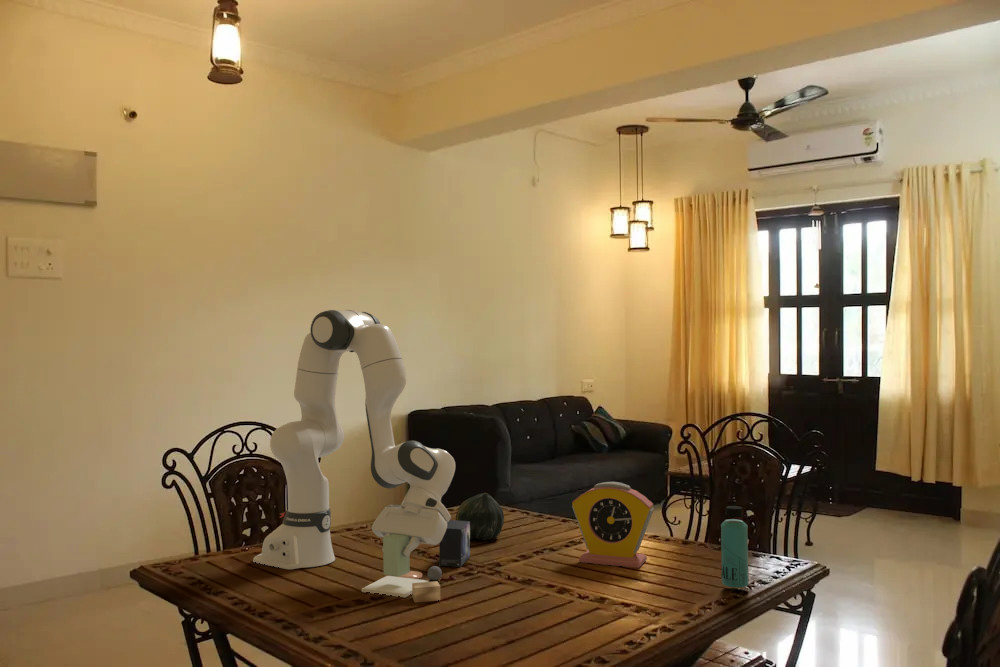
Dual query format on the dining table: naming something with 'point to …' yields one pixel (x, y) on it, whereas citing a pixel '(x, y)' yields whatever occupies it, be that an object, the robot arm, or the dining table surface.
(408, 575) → the peach flat disc
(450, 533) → the small box
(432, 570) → the rubber ball
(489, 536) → the squash
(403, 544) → the sage block
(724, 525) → the beverage bottle
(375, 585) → the beige mat
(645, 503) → the retro mantel clock
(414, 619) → the dining table surface
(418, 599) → the oak block
